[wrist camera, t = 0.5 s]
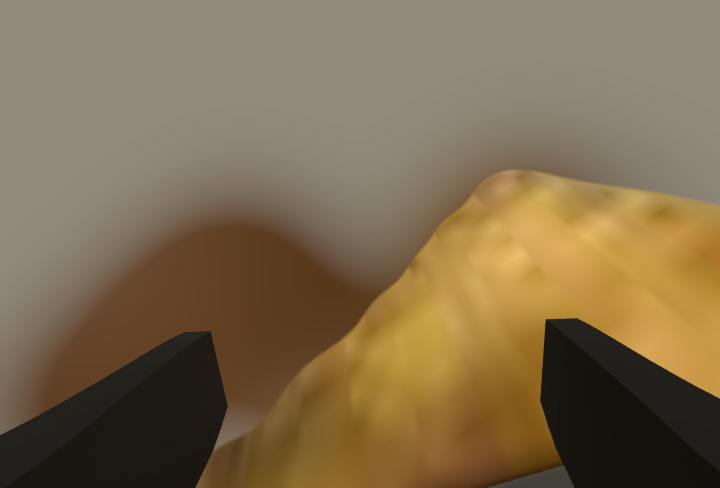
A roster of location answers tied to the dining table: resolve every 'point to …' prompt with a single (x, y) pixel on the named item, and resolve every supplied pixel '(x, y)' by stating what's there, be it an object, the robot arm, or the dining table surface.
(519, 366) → the dining table surface
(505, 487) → the mat
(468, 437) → the dining table surface
